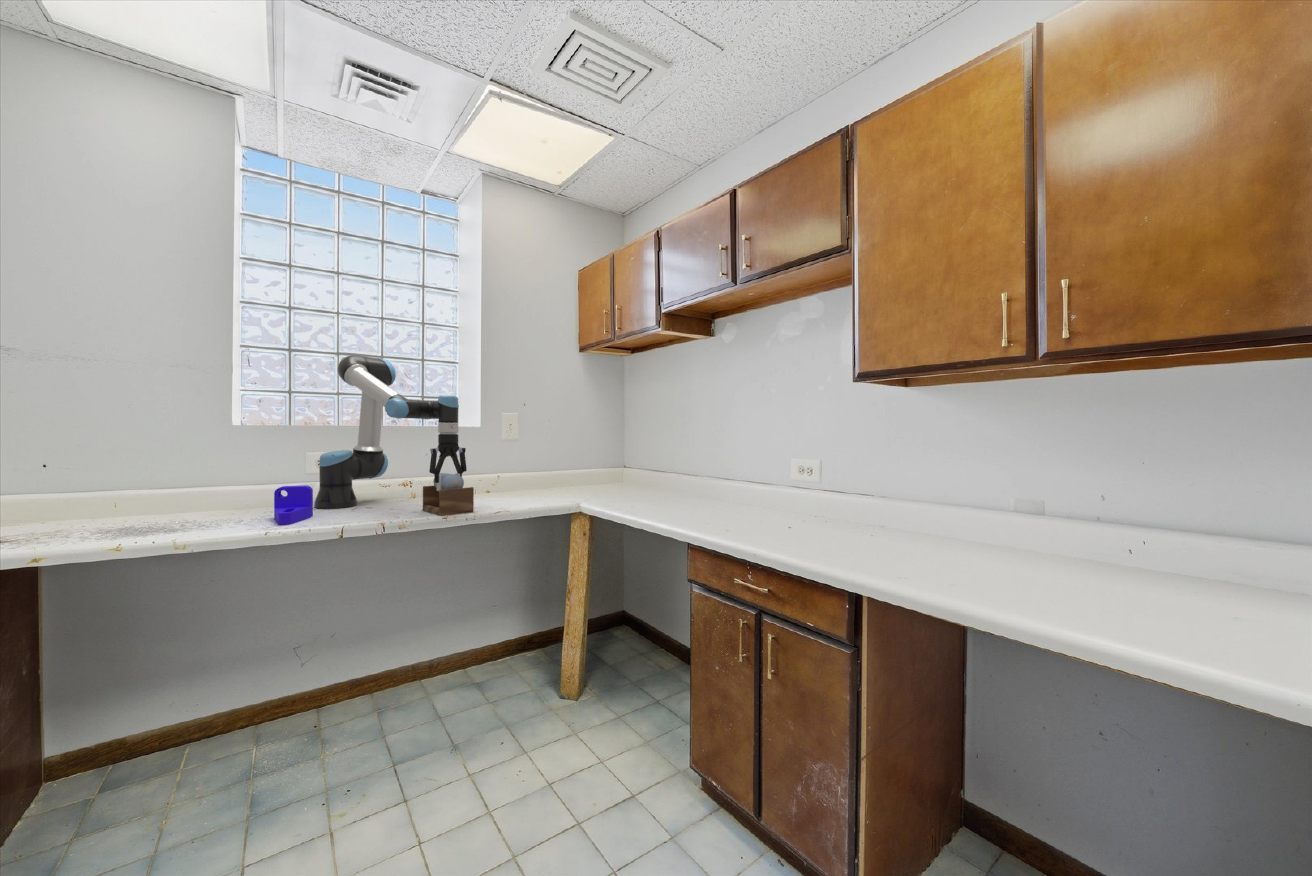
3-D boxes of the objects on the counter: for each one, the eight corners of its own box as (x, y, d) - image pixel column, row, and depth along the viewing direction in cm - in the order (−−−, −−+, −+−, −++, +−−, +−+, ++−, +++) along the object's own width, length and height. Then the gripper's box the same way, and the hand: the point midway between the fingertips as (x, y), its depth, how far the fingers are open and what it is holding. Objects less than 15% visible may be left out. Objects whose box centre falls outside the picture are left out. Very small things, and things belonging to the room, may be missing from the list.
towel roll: (433, 490, 201) (433, 473, 201) (449, 489, 207) (450, 472, 207) (446, 492, 193) (447, 475, 193) (463, 491, 199) (464, 474, 198)
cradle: (422, 510, 201) (422, 486, 201) (454, 507, 211) (454, 483, 211) (440, 516, 190) (440, 490, 190) (473, 511, 200) (473, 487, 200)
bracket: (277, 517, 182) (277, 486, 182) (312, 516, 187) (312, 485, 187) (264, 527, 166) (263, 492, 166) (303, 524, 171) (303, 490, 171)
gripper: (427, 433, 190) (427, 493, 190) (476, 433, 204) (476, 488, 205) (419, 433, 195) (419, 491, 195) (467, 433, 210) (467, 487, 210)
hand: (448, 490), depth 200 cm, fingers closed on towel roll, 7 cm apart
